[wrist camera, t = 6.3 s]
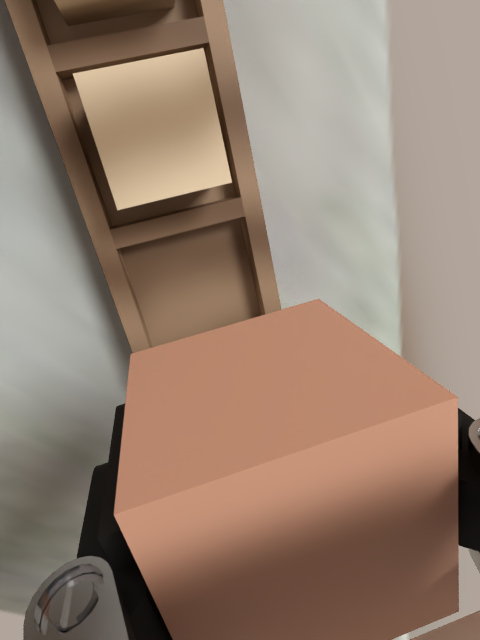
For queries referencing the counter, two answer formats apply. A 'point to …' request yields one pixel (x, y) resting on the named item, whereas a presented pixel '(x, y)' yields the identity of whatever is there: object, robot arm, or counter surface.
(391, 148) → the counter surface
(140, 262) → the walnut tray
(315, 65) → the counter surface
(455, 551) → the brick cube
